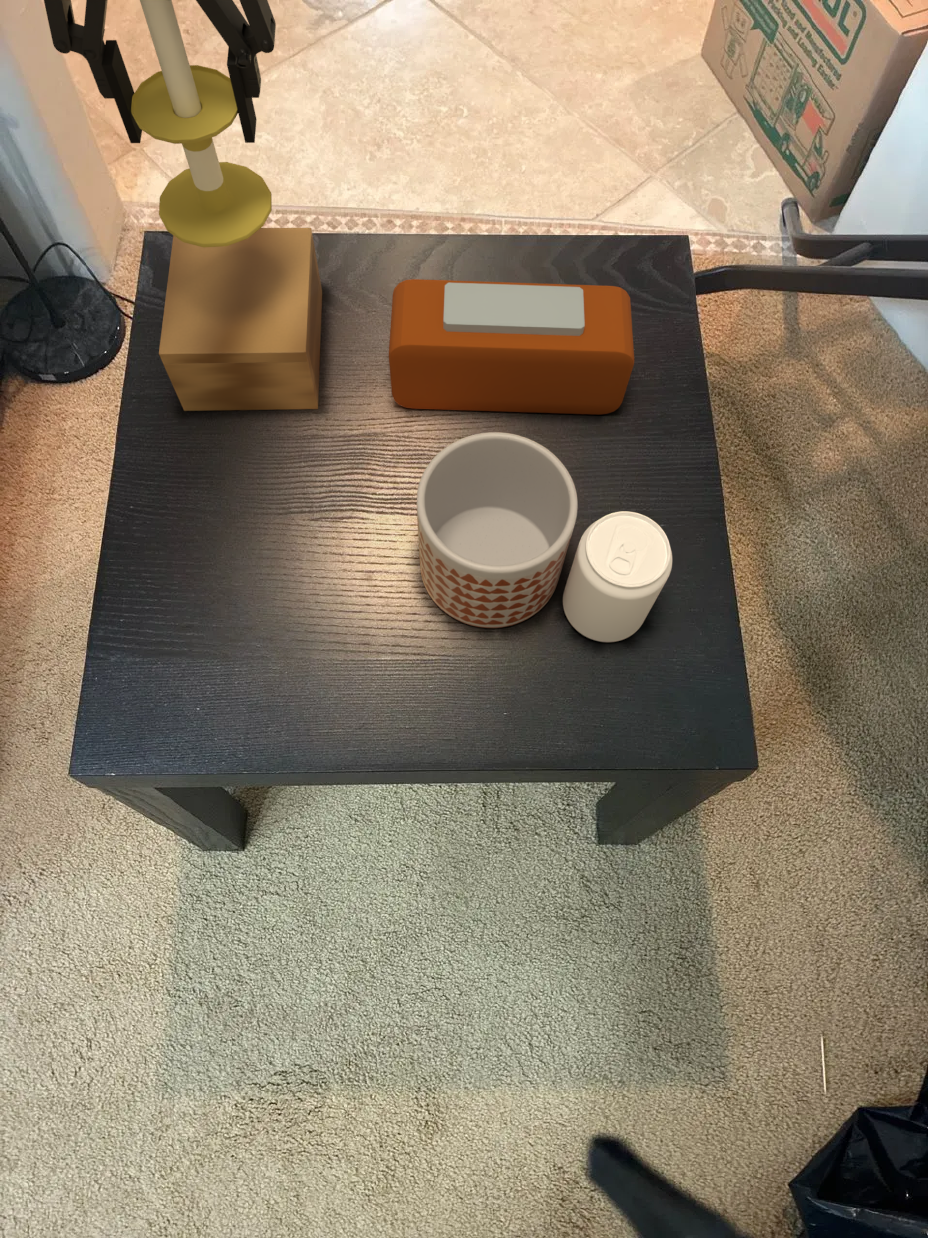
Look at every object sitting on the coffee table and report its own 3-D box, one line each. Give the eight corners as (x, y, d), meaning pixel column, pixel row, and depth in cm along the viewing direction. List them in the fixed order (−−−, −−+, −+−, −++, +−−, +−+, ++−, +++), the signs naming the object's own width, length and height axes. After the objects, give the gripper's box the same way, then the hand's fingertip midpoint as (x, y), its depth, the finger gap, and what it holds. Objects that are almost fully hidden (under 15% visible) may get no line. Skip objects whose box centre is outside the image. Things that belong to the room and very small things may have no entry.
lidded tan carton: (184, 410, 91) (158, 353, 83) (196, 292, 97) (173, 227, 89) (318, 409, 92) (305, 351, 84) (322, 291, 98) (311, 227, 90)
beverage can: (657, 587, 85) (689, 528, 74) (627, 658, 82) (657, 607, 71) (580, 555, 86) (601, 492, 75) (548, 624, 83) (565, 568, 72)
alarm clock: (615, 353, 96) (636, 275, 85) (618, 416, 92) (641, 344, 82) (396, 346, 95) (391, 267, 85) (392, 409, 92) (386, 335, 82)
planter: (494, 658, 81) (503, 603, 70) (390, 567, 85) (382, 500, 73) (588, 562, 86) (611, 496, 74) (485, 480, 89) (491, 403, 77)
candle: (201, 149, 80) (92, -227, 55) (294, 189, 78) (224, -180, 53) (135, 220, 76) (-14, -147, 51) (231, 263, 75) (124, -95, 50)
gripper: (279, -261, 51) (326, 98, 72) (-87, -265, 51) (68, 99, 72) (273, -189, 49) (324, 163, 69) (-115, -192, 48) (54, 165, 69)
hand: (194, 130), depth 71 cm, fingers closed on candle, 8 cm apart
